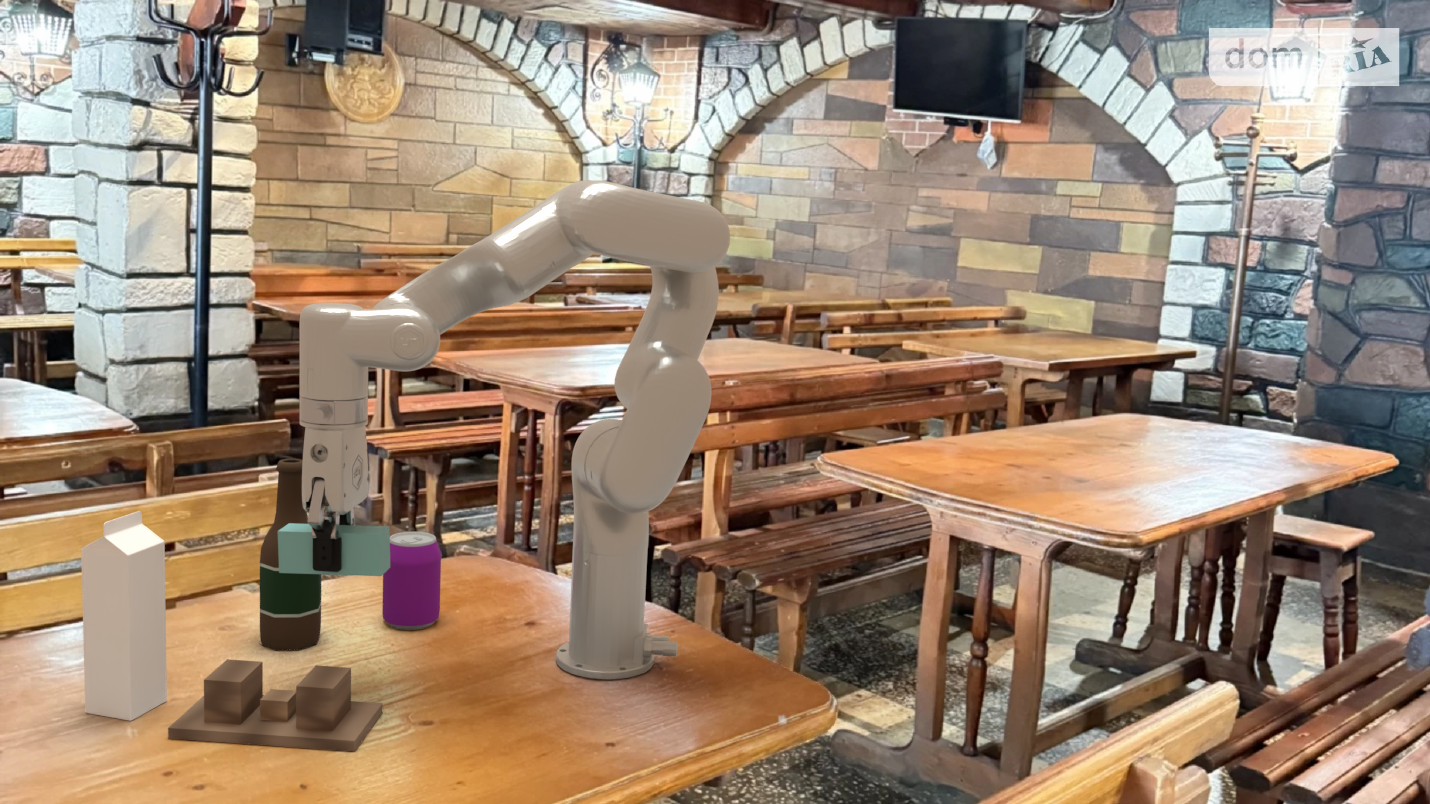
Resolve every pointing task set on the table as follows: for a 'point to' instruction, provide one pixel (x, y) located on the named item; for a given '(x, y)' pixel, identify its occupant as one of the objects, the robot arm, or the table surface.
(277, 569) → the beer bottle
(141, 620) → the milk
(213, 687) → the ledge stand
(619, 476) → the robot arm
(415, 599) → the beverage can
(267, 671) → the table surface
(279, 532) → the teal bar
